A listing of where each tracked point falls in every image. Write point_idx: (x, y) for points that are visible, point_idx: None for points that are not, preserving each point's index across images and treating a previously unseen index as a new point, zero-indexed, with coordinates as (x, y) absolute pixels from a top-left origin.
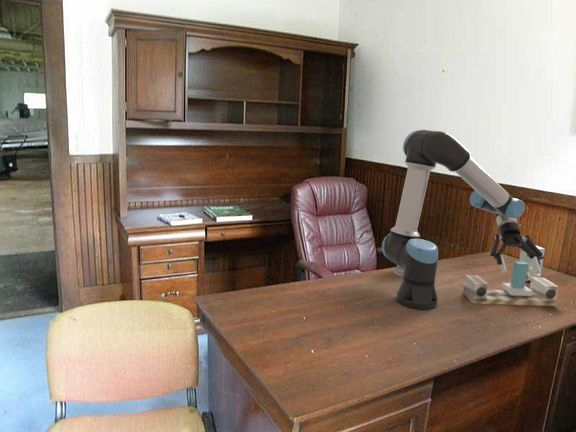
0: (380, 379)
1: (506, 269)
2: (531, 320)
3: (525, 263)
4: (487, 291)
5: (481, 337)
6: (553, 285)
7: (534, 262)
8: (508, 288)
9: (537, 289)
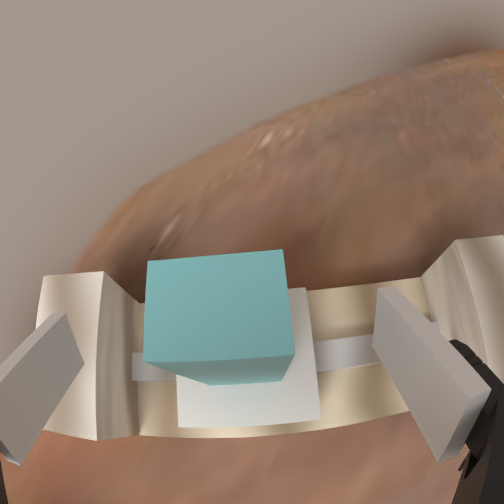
0: (495, 58)
1: (381, 293)
2: (273, 169)
3: (169, 281)
4: (437, 259)
5: (423, 96)
6: (54, 290)
7: (24, 398)
8: (310, 335)
9: (120, 357)
